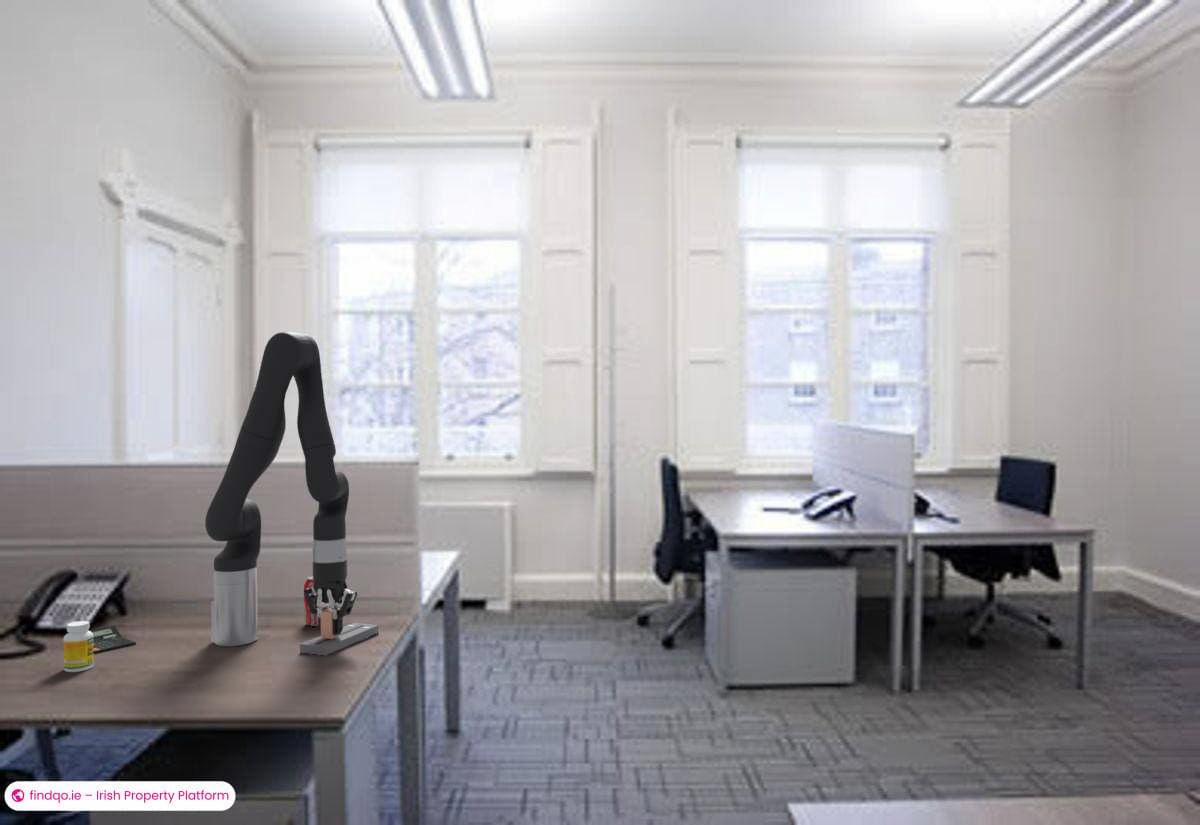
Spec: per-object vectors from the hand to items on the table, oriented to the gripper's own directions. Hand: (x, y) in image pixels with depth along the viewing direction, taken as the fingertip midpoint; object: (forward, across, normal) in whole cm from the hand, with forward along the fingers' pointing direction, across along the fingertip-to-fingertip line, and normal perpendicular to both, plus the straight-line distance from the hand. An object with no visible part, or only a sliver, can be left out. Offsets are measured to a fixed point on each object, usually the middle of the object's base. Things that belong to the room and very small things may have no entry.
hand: (330, 633), depth 188 cm
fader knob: (+1, 0, 0) cm, 1 cm away
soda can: (+3, -16, +15) cm, 22 cm away
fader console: (+3, 0, +4) cm, 5 cm away
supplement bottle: (+3, -40, -31) cm, 51 cm away
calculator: (+4, -51, -17) cm, 54 cm away
